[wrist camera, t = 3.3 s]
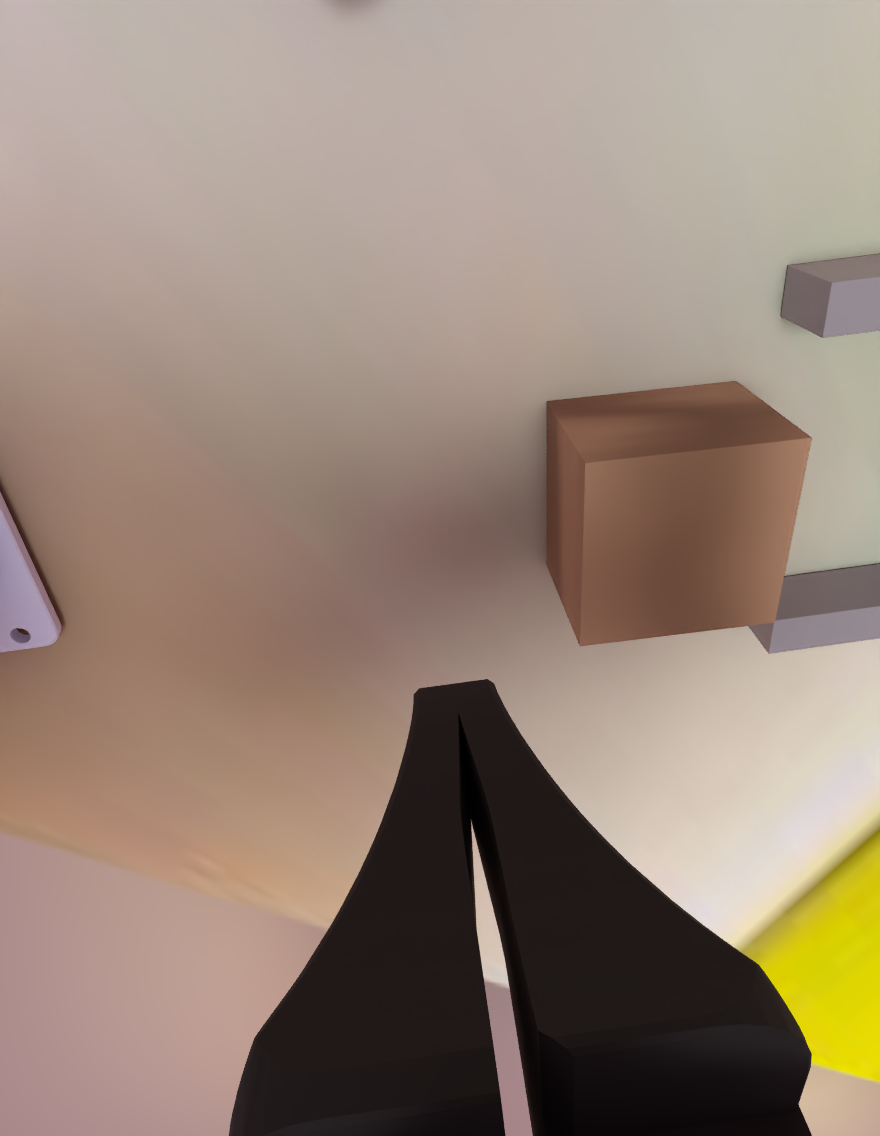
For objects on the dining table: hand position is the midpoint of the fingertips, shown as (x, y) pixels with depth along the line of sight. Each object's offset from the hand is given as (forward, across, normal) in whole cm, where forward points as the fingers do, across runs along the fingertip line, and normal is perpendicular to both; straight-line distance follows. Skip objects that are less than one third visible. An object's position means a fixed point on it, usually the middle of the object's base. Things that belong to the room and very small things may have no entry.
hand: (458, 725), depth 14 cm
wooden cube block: (+9, -6, 0) cm, 11 cm away
